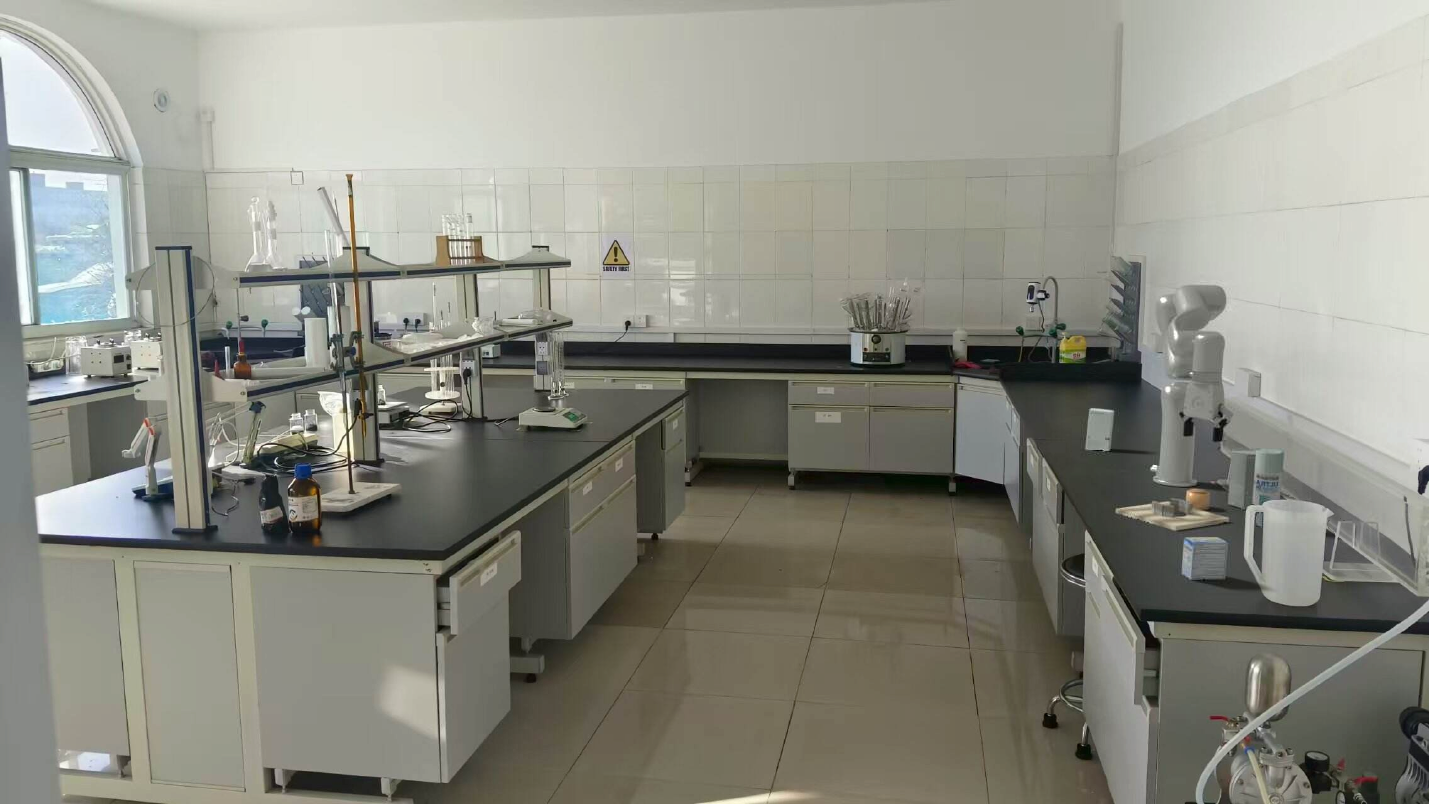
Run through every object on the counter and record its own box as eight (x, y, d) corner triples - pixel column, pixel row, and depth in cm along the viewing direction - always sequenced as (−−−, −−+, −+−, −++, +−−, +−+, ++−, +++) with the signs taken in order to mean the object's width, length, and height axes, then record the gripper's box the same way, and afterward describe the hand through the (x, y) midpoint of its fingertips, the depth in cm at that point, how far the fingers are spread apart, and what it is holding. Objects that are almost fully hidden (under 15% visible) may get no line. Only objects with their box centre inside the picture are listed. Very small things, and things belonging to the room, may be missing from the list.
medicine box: (1215, 573, 234) (1218, 536, 233) (1225, 580, 230) (1228, 542, 229) (1180, 574, 234) (1183, 536, 233) (1190, 580, 230) (1193, 542, 228)
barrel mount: (1115, 513, 288) (1116, 498, 287) (1167, 505, 296) (1168, 491, 296) (1175, 530, 270) (1176, 514, 269) (1228, 522, 278) (1229, 506, 278)
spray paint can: (1278, 524, 277) (1284, 450, 274) (1277, 529, 271) (1283, 454, 268) (1251, 520, 280) (1257, 447, 277) (1249, 526, 274) (1255, 451, 271)
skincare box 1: (1085, 450, 377) (1087, 409, 375) (1087, 447, 382) (1090, 407, 380) (1109, 452, 373) (1112, 411, 371) (1111, 449, 379) (1114, 409, 376)
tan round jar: (1180, 506, 296) (1182, 489, 295) (1195, 504, 298) (1196, 487, 297) (1198, 511, 290) (1199, 493, 290) (1213, 508, 293) (1215, 491, 292)
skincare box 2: (1243, 510, 291) (1248, 454, 289) (1225, 504, 298) (1229, 449, 296) (1268, 508, 293) (1273, 453, 291) (1249, 502, 300) (1253, 448, 298)
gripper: (1171, 375, 295) (1167, 435, 297) (1224, 381, 279) (1219, 444, 282) (1190, 374, 298) (1186, 433, 300) (1243, 380, 283) (1238, 442, 285)
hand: (1202, 438), depth 291 cm, fingers open, 9 cm apart
